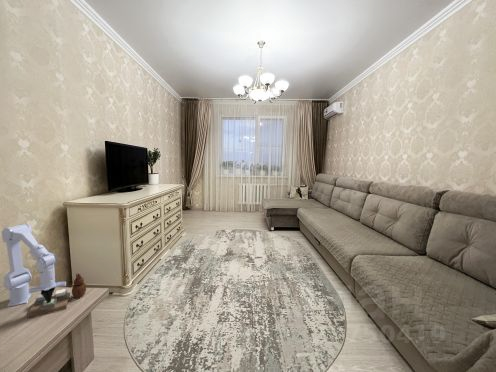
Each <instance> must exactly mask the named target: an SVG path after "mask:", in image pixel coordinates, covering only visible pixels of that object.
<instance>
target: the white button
mask: <svg viewBox="0 0 496 372" xmlns="http://www.w3.org/2000/svg"><path fill="white" fill-rule="evenodd" d="M66 290H67V289H66V288H62V289H58V290H56V291H55V293H54V295H55V297H57V296H62V295H65V293H66Z"/></svg>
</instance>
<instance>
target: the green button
mask: <svg viewBox="0 0 496 372" xmlns="http://www.w3.org/2000/svg"><path fill="white" fill-rule="evenodd" d="M54 302H55V299H51V302H49V303H47V302H46V301H45V302H44V304H43V306H46V305H50V304H54Z"/></svg>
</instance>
